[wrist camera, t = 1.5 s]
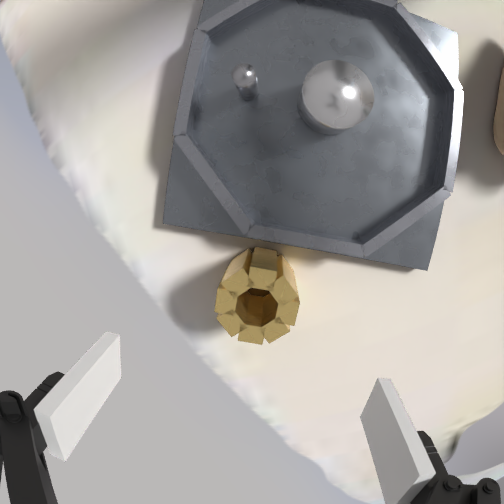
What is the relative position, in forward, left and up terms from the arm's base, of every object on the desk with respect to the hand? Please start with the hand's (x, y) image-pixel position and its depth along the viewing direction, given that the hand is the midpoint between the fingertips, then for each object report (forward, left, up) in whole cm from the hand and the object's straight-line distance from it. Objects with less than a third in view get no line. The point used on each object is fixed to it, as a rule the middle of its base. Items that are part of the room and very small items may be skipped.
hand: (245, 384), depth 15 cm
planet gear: (0, 0, -15) cm, 15 cm away
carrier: (-16, +3, -15) cm, 22 cm away
